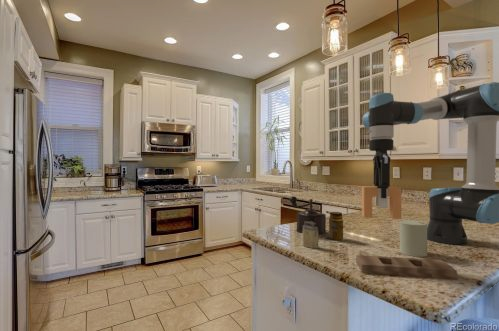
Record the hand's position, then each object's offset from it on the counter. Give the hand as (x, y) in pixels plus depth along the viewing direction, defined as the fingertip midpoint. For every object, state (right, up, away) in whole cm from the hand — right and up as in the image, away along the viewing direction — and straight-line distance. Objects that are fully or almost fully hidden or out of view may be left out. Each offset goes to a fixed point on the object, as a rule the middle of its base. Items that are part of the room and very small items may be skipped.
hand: (381, 206), depth 93 cm
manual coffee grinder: (-17, -19, +40) cm, 47 cm away
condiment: (-7, -19, +28) cm, 34 cm away
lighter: (-21, -19, +17) cm, 33 cm away
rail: (+3, -19, -8) cm, 21 cm away
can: (+16, -19, +9) cm, 26 cm away
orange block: (0, -4, 0) cm, 4 cm away
